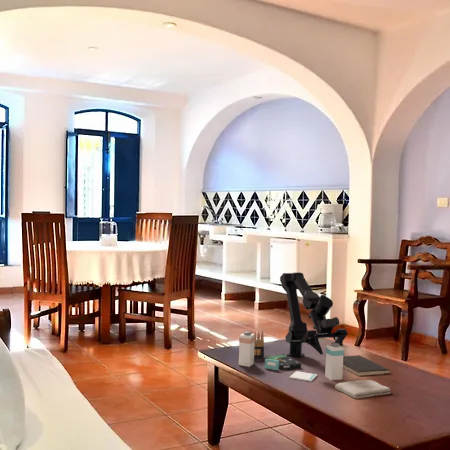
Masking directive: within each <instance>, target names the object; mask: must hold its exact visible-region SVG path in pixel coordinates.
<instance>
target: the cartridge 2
mask: <svg viewBox="0 0 450 450" xmlns="http://www.w3.org/2000/svg"><path fill="white" fill-rule="evenodd" d="M344 348H345V347H344V346H343V347H342V346H340V345H339V344H338V343H335V342H331V343H330V344H326V348H325V369H324V372H325V373H324V374H325V375H324V377H325V378H327V379H329V380H330V381H340V380H343V373H344V372H343V369H344V368H343V356H345V353H344V352H345V349H344Z"/></svg>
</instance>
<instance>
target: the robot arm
mask: <svg viewBox="0 0 450 450" xmlns="http://www.w3.org/2000/svg"><path fill="white" fill-rule="evenodd" d="M279 280H280V281H279V282H280V283H281V284H280V285H281V287H282V289H283V290H284V291H285V292H286V297H287V298H286V299H287V303H288V304H287V305H288V311H289V317H290V325H288V332H287V333H286V335H285V343H288V344H289V351H288V353H287V354H286V356H288V357H295V358H302V357H303V356H304V355H305V353H304V352H303V344H307V345H309V346H310V347H312V348H313V349H314V350H316V352H318V354H320V355H322V356H323V354H324V352H323V348H322V347H321V344H320V341H319V339H330V338H331V339H332V338H333V340H334V343H338V344H339V345H340V346H342V347H344V346H343V345H344V344H343V341H344V340H345V338H346V337H347V335H349V333H348V331H347V329H346V328H337V329H336V330H335V331H334V328H335V327H337V326H339V325H340V319H339V318H338V316H336V317H335V316H334V317H331V318H326V316H325V315H327V314H328V313H329V311H330V310H331V309H332V307H333V306H334V303H333V300H332V299H331V298H329V297H328V296H327V295H326V294H321V295H319V294H318V293H316V292H315V291H313V290H312V288H311V287H310V285H309V283H308V281H307V280H306V279H305V277H304V273H303V272H283V273H282V275H280V277H279ZM297 290H298V292H299V293H300V295H301V297H302V304H303V307H304V309H305V310H310V312H309V315H308V319H311V321H312V323H313V327H312V328H313V329H309V330H308V327H307V326H308V325H307V323H306V322H304V321H303V320H302V316H301V308H300V304H299V303H300V302H299V297H298V292H297ZM332 331H334V332H332Z"/></svg>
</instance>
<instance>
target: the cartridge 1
mask: <svg viewBox="0 0 450 450" xmlns="http://www.w3.org/2000/svg"><path fill="white" fill-rule="evenodd" d="M243 332H244V333H241V334H240V335H239V338H238V343H239V346H238V347H239V348H238V366H243V367H248V368H250V367H251V366H253V365H254V364H255V358H254V343H255V334H254V333H252V334H251V331H248V332H247V331H243Z"/></svg>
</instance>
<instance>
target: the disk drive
mask: <svg viewBox="0 0 450 450" xmlns="http://www.w3.org/2000/svg"><path fill="white" fill-rule="evenodd" d="M265 359H271V360H277V361H279V370H278V371H287V370H296V369H301V368H302V362H300V361H297V360H296V359H293V358H292V357H291V356H287V354H277V355H276V354H275V355H269V356H267V355H264V362H265Z"/></svg>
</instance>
